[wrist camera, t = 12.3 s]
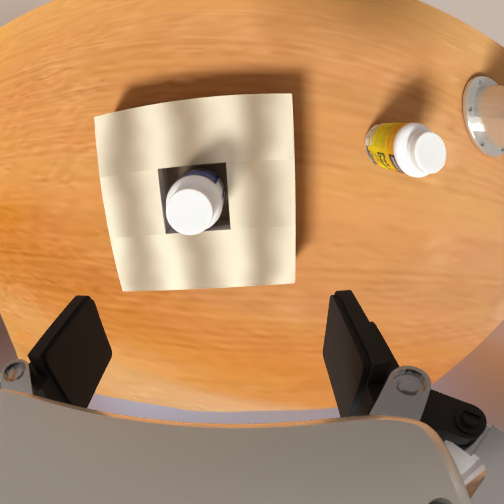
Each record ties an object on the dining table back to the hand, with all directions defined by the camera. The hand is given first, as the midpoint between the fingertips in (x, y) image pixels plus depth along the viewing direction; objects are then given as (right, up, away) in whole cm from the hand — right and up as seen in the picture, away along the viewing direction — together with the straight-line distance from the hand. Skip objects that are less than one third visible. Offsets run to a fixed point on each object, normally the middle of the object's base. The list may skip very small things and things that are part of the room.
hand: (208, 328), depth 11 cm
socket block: (-4, +10, +22) cm, 24 cm away
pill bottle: (-4, +10, +21) cm, 23 cm away
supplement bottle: (+17, +16, +20) cm, 31 cm away
